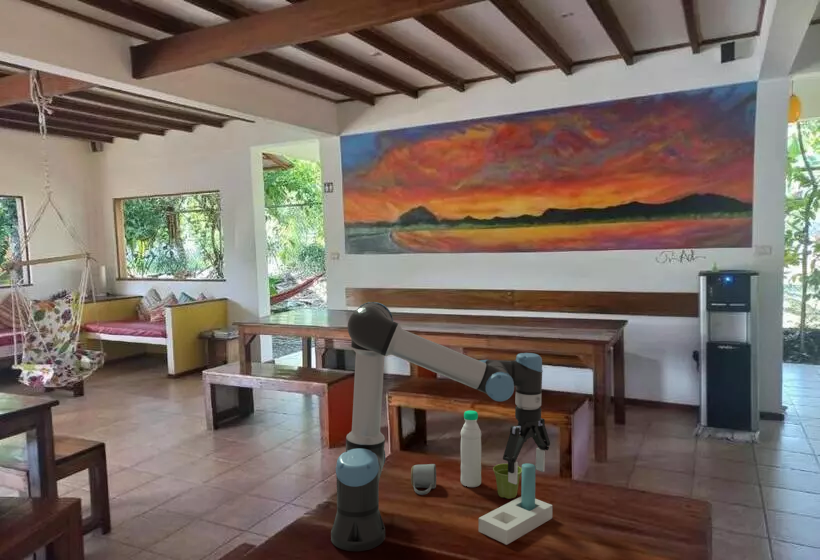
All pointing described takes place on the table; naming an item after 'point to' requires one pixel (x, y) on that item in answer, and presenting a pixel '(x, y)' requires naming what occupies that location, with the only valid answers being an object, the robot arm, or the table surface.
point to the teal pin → (528, 487)
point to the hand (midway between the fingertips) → (526, 476)
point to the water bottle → (470, 450)
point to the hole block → (514, 520)
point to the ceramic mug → (423, 477)
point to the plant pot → (505, 481)
